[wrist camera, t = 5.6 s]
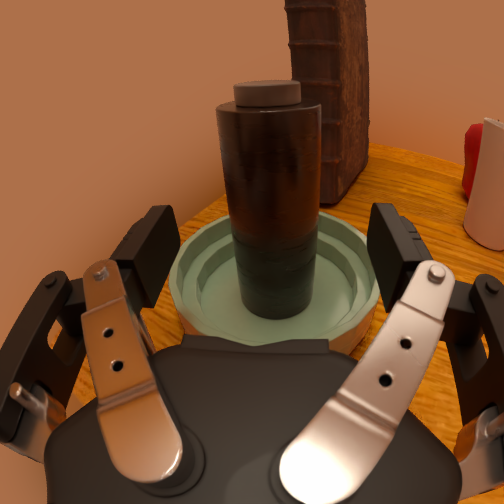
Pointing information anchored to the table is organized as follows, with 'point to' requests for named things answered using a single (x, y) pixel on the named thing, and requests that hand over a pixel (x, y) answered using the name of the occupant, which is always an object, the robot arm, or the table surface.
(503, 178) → the mug
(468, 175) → the apple
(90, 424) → the robot arm
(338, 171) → the book
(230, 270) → the celadon bowl
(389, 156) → the table surface
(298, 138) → the thermos flask
